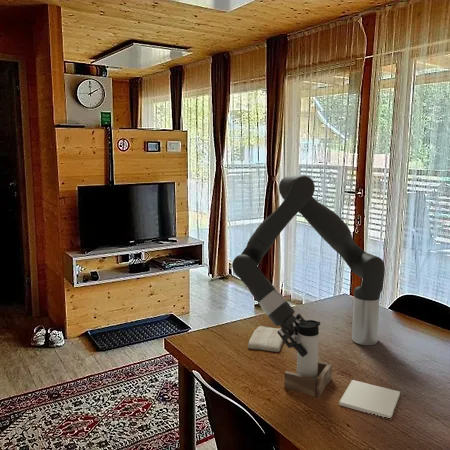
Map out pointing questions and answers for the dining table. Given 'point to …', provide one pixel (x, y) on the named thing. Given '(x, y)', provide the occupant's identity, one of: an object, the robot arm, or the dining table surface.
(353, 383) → the white mat
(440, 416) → the dining table surface
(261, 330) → the washcloth
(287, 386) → the walnut cubby
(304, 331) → the travel mug
